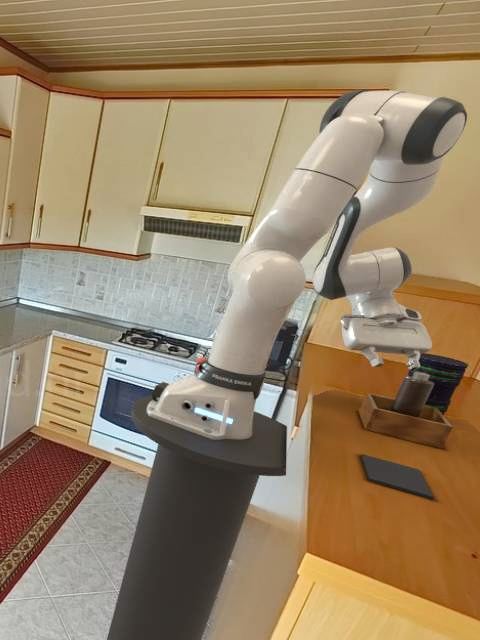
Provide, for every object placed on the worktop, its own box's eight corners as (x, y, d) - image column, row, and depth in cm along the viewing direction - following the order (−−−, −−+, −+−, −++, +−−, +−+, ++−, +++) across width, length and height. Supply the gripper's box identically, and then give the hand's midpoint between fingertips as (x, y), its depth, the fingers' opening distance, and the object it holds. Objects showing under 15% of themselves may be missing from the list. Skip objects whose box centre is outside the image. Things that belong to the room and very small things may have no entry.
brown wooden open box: (365, 429, 112) (374, 408, 110) (358, 411, 123) (366, 392, 121) (442, 449, 105) (453, 426, 103) (427, 428, 116) (437, 408, 114)
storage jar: (403, 417, 122) (429, 360, 117) (384, 403, 131) (408, 350, 126) (451, 425, 120) (479, 368, 114) (428, 411, 129) (454, 357, 123)
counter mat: (368, 480, 88) (369, 477, 88) (360, 456, 97) (361, 453, 97) (432, 499, 83) (434, 496, 83) (417, 472, 93) (419, 469, 93)
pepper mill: (386, 426, 113) (409, 373, 108) (382, 419, 117) (405, 368, 112) (414, 433, 110) (440, 379, 106) (410, 425, 114) (434, 374, 110)
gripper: (349, 306, 117) (367, 358, 111) (426, 313, 119) (448, 364, 113) (328, 320, 123) (345, 369, 117) (402, 326, 125) (422, 375, 119)
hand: (396, 367), depth 115 cm, fingers open, 8 cm apart
